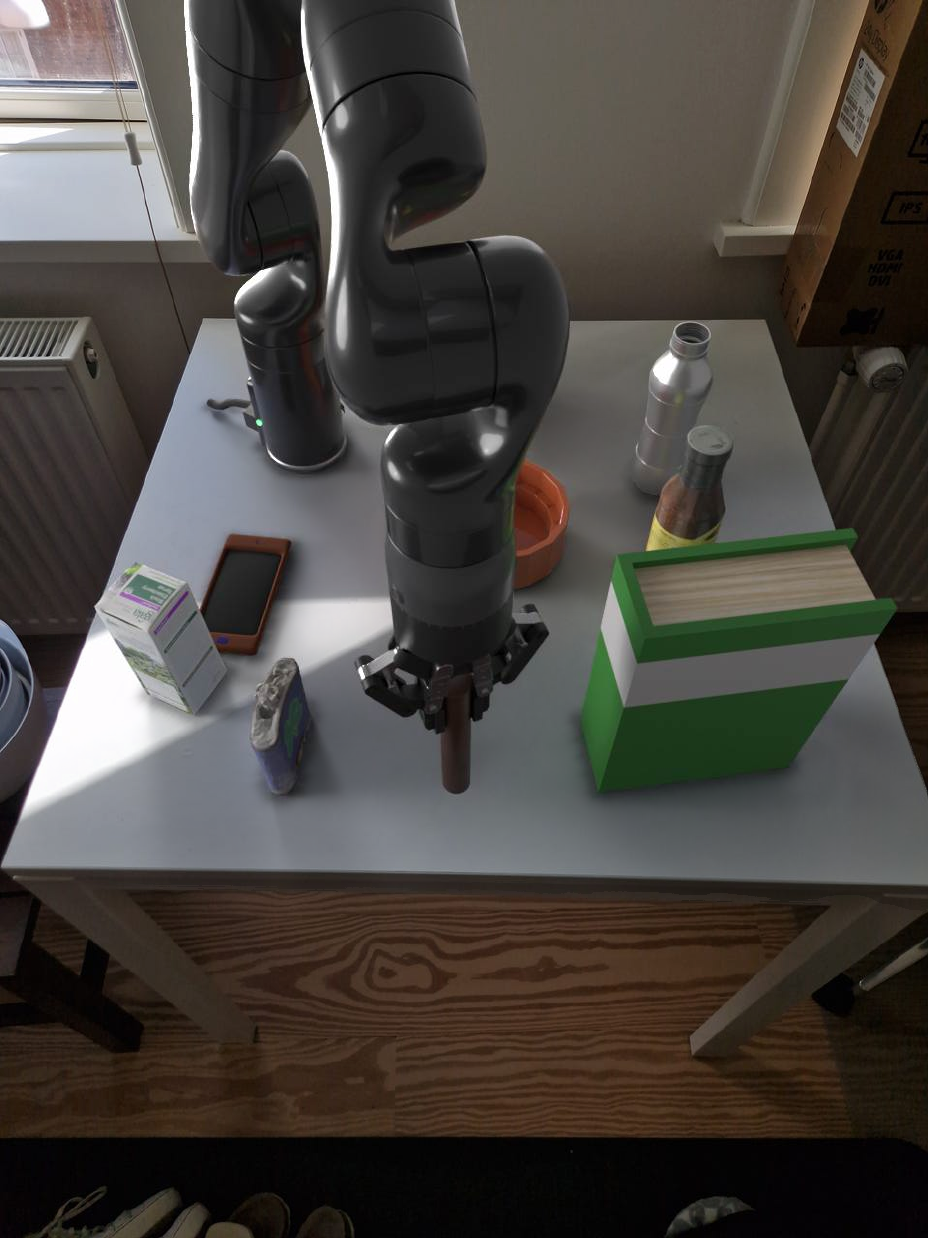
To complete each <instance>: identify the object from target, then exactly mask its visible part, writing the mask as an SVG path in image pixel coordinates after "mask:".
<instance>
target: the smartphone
mask: <svg viewBox="0 0 928 1238" xmlns="http://www.w3.org/2000/svg"><path fill="white" fill-rule="evenodd" d="M291 547H292V540H290V539H289V538H281V537H280V538H279V537H271V536H262V535H261V536H260V535H250V534H238V533H230V534H228V535H227V537H226V539H225V542H224V545H223V546H222V549H221V551H220V555H219V557H218V560H217V563H216V565H215V567H214V570H213V573H212V575H211V578H210V581H209V583H208V586H207V589H206V591H205V593H204V596H203V599H202V602H201V604H200V606H199V610H200V612H201V614H202V616H203V619H204V621H205V624H206V626H207V628H208V630H209V632H210V635H211V637H212V639H213V641H214V644H215V646H216V648H217V650H218V653H219V654H220V653H222V654H229V655H238V656H248V657H253V656H255V655H257V652H258V650H259V647H260V645H261V643H262V639H263V636H264V633H265V629H266V627H267V623H268V620H269V617H270V615H271V611H272V607H273V604H274V601H275V598H276V596H277V592H278V589H279V585H280V583H281V580H282V576H283V573H284V570H285V567H286V564H287V561H288V559H289V558H288V557H289V554H290V551H291Z"/></svg>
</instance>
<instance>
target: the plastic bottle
mask: <svg viewBox="0 0 928 1238" xmlns="http://www.w3.org/2000/svg"><path fill="white" fill-rule="evenodd" d="M711 335H712V334H711V330H710V329H709V328H708V327H707V326H706V325H705V324H702V323H700V322H697V321H683V322H680V323H678V324H677V325H675V327H674V329H673V332H672V337H671V338H670V339H669V340H670V341H669V344H668V350H665V351H664V352H663V353H662V354H661V355H660V356H659V357H657V359H656V360H655V362H654V363H653V365H652V367H651V368H650V371H649V377H648V391H647V406H646V412H645V418H644V423H643V427H642V430H641V433H640V436H639V440H638V442H637V444H636V446H635V448H634V449H633V452H632V455H631V457H630V461H629V466H630V468H629V470H630V471H629V476H630V479H631V481H632V482H633V483H634V485H635V486H636V487H637V488H638V490H640V491H642V492H643V493H645V494H648V495H652V496H660V495H661V492H662V490H663V487H664V486H665V484H666V483H667V482H668V480H670V478H672V477H673V476H674V475H676V474H677V473H679V468H680V466H681V465H682V462H683V458H684V455H685V452H684V445H685V442H686V439H687V436H688V433H689V432H690V431H691V430H692V429H693V428H695V426H696V423H697V420H698V418H699V415H700V413H701V410H702V408H703V406H704V404H705V401H706V400H707V397H708V396H709V394H710V391H711V388H712V387H713V381H714V380H713V379H714V377H713V376H714V375H713V368H712V366H711V364H710V361H709V359H708V357H707V355H708V352H709V347H710V345H709V344H710V341H711Z"/></svg>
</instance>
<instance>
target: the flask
mask: <svg viewBox="0 0 928 1238" xmlns="http://www.w3.org/2000/svg"><path fill="white" fill-rule="evenodd" d="M254 693H258V694H253V695H254V698H255V699H256V700H255V703H254V708H253V712H252V713H253V714H252V719H251V726H250V731H249V733H250V736H249V741H250V744H251V748H252V751H253V752H254V754H255V757H256V759H257V761H258V764H259V766H260V768H261V771H262V773H263V777H264V779H265V782H266V784H267V786H268V789H269V790H270V792H272V793H273V794H274V795H277V796H278V795H279V796H287V795H288V794H289V793H290V792H291V791H292V790H293V788H294V786H295V784H296V781H297V779H298V775H297V771H298V767H299V764H300V763H301V759H302V758H303V753H304V752H303V751H304V750H303V746H302V745H303V743H304V742H305V741H306V732H307V731H309V726H310V724H311V722H312V721H311V720H312V714H311V711H310V709H309V706H308V705H309V704H308V701H307V696H306V695H307V694H306V691H305V688H304V683H303V679H302V675H301V670H300V666H299V664H298V662H297V661H296V659H295V658H294V657H281V658H277V660H275V661H274V662H273V663H272V665H271V667H270V669H269V670H268V672H267V674H266V676H265V678H264V680H263V682H259V683H258V684H257V685H256V686H255V687H254Z"/></svg>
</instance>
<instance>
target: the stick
mask: <svg viewBox="0 0 928 1238" xmlns="http://www.w3.org/2000/svg"><path fill="white" fill-rule="evenodd" d="M471 687H472V683H471V679H470V677H469V675H468V674H462V675H458V676H456V677H454V678H451V679H450V681H449V686H448V692H447V696H446V697H443V701H442V705H443V707H444V713H445V732H443V733H440V734H439V741H440V742H439V743H440V762H441V783H442V787H443V788H444V790H445V791H446V792H448V793H450V794H452V795H461V794H463V793H465V792H466V791H467V790H468V789H469V788H470V786H471V762H472V761H471V758H472V757H471V756H472V755H471V753H472V718H471Z"/></svg>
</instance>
